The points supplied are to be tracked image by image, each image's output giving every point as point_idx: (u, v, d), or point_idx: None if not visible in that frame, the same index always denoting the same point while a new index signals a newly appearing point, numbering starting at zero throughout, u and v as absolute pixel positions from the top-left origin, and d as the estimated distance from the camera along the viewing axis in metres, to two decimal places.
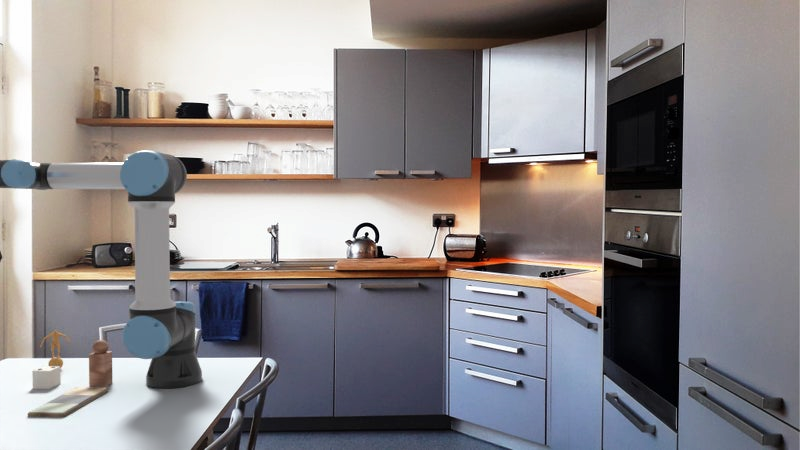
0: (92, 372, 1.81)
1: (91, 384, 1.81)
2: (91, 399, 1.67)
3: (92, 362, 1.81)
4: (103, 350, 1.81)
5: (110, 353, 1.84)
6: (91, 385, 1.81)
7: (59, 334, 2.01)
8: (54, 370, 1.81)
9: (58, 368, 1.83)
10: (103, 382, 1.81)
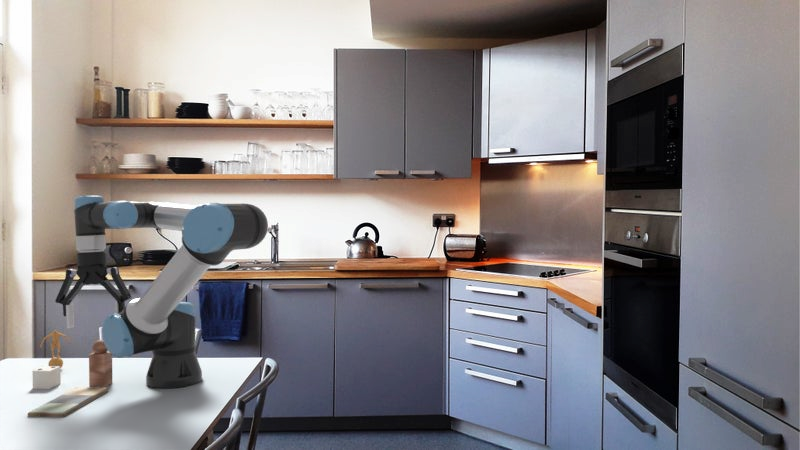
0: (92, 372, 1.81)
1: (91, 384, 1.81)
2: (91, 399, 1.67)
3: (92, 362, 1.81)
4: (103, 350, 1.81)
5: (110, 353, 1.84)
6: (91, 385, 1.81)
7: (59, 334, 2.01)
8: (54, 370, 1.81)
9: (58, 368, 1.83)
10: (103, 382, 1.81)
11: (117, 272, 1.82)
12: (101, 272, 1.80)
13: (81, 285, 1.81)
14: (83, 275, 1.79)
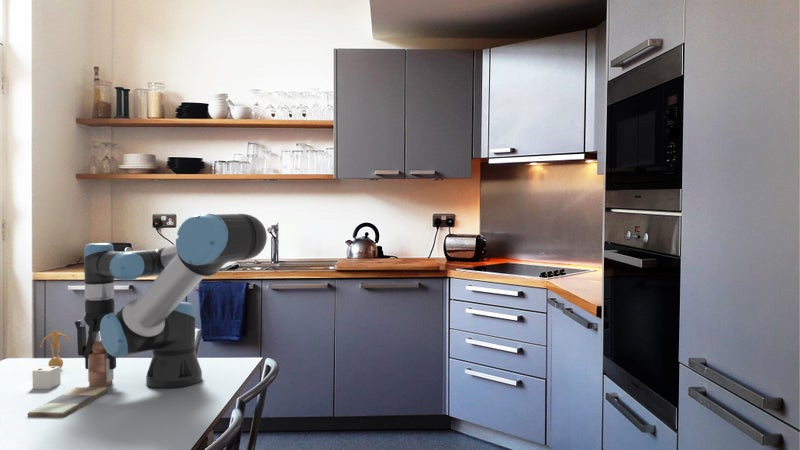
0: (92, 372, 1.81)
1: (91, 384, 1.81)
2: (91, 399, 1.67)
3: (92, 362, 1.81)
4: (103, 350, 1.81)
5: None
6: (91, 385, 1.81)
7: (59, 334, 2.01)
8: (54, 370, 1.81)
9: (58, 368, 1.83)
10: (103, 382, 1.81)
11: None
12: None
13: (94, 333, 1.82)
14: (91, 323, 1.80)
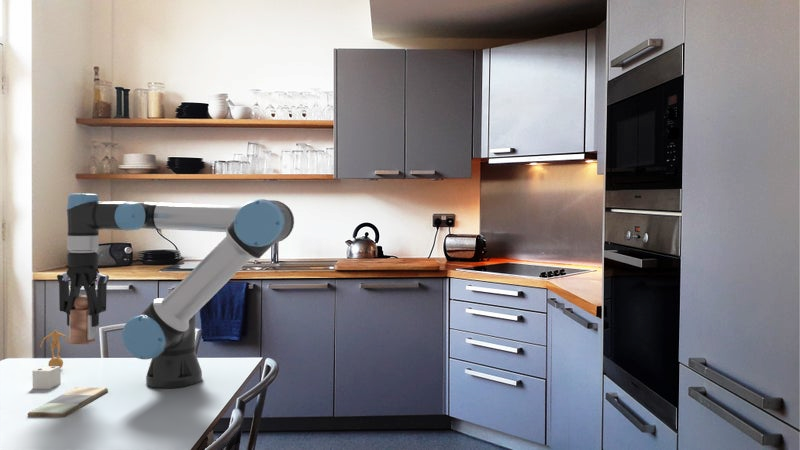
0: (73, 329, 1.72)
1: (72, 341, 1.72)
2: (91, 399, 1.67)
3: (73, 318, 1.72)
4: (85, 305, 1.72)
5: None
6: (72, 342, 1.72)
7: (59, 334, 2.01)
8: (54, 370, 1.81)
9: (58, 368, 1.83)
10: (84, 340, 1.71)
11: (105, 281, 1.73)
12: (90, 274, 1.72)
13: (77, 288, 1.73)
14: (73, 277, 1.71)
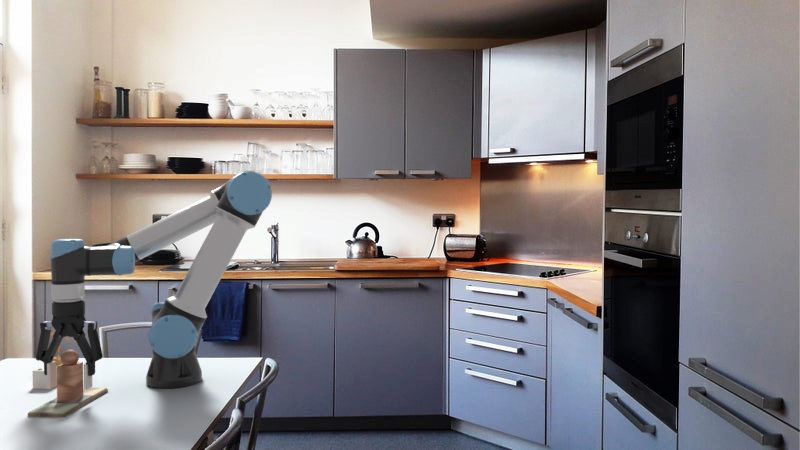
0: (60, 385, 1.63)
1: (59, 399, 1.63)
2: (91, 399, 1.67)
3: (60, 374, 1.63)
4: (72, 361, 1.64)
5: (81, 364, 1.66)
6: (59, 400, 1.63)
7: None
8: None
9: None
10: (72, 397, 1.63)
11: (95, 328, 1.65)
12: (78, 324, 1.64)
13: (59, 338, 1.65)
14: (58, 327, 1.63)
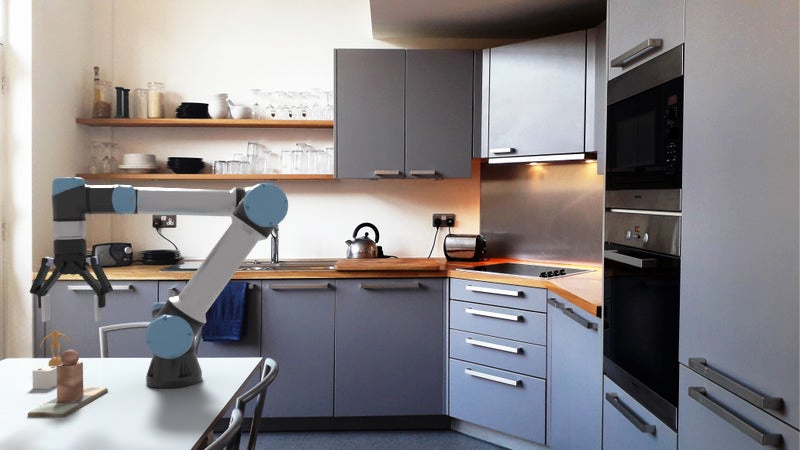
0: (60, 385, 1.63)
1: (59, 399, 1.63)
2: (91, 399, 1.67)
3: (60, 374, 1.63)
4: (72, 361, 1.64)
5: (81, 364, 1.66)
6: (59, 400, 1.63)
7: (59, 334, 2.01)
8: (54, 370, 1.81)
9: None
10: (72, 397, 1.63)
11: (97, 262, 1.66)
12: (80, 261, 1.64)
13: (58, 275, 1.65)
14: (60, 264, 1.64)
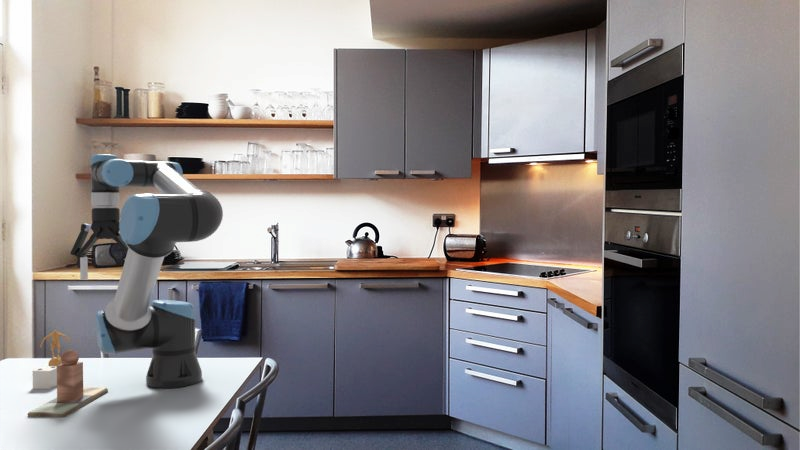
0: (60, 385, 1.63)
1: (59, 399, 1.63)
2: (91, 399, 1.67)
3: (60, 374, 1.63)
4: (72, 361, 1.64)
5: (81, 364, 1.66)
6: (59, 400, 1.63)
7: (59, 334, 2.01)
8: (54, 370, 1.81)
9: None
10: (72, 397, 1.63)
11: None
12: (114, 227, 1.89)
13: (95, 239, 1.91)
14: (97, 230, 1.89)
